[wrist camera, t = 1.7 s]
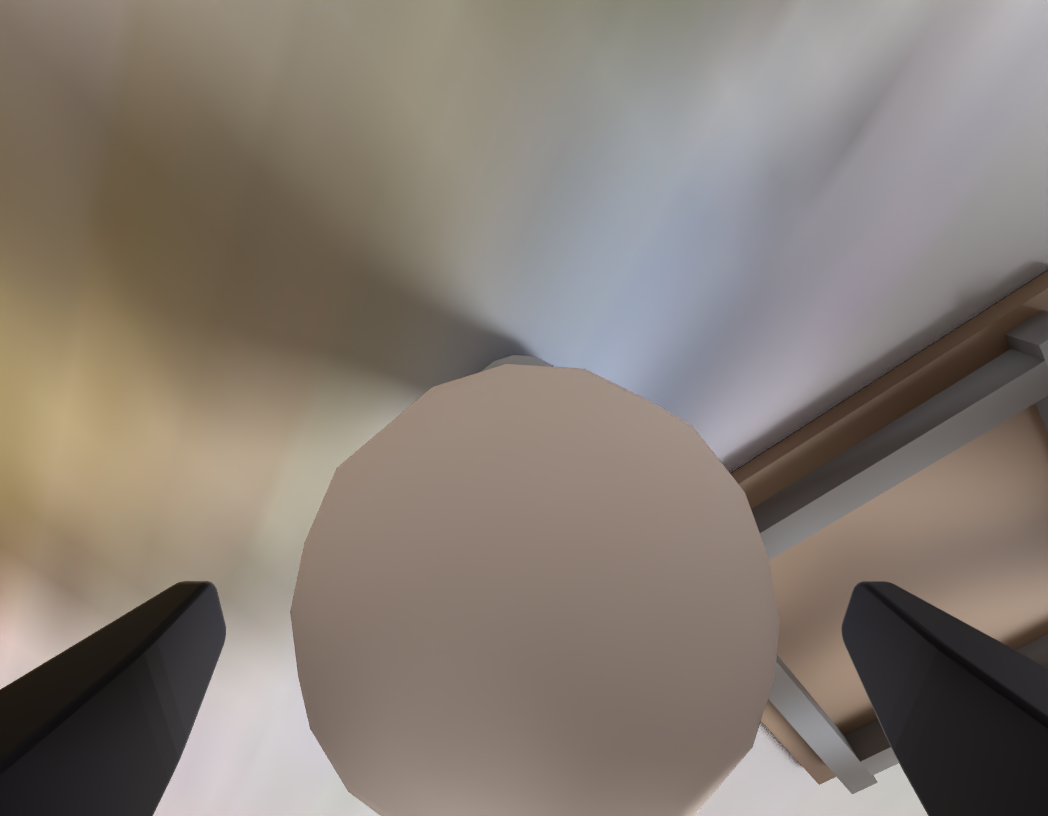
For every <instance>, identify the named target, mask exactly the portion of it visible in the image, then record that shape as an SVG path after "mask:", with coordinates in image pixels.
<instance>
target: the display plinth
mask: <svg viewBox="0 0 1048 816" xmlns="http://www.w3.org/2000/svg"><path fill="white" fill-rule="evenodd" d="M731 475H732V477H733V478H734V479H735V480H736V482H737V483H738V484H739V486H740V487H741V488H742V489H743V491H744V492H745V494H746V497H747V500H748V502H749V505H750V508H751V511H752V513H753V516H754V519H755V522H756V524H757V527H758V530H759V532H760V535H761V538H762V541H763V543H764V546H765V549H766V552H767V554H768V557H769V563H770V569H771V575H772V581H773V587H774V593H775V599H776V605H777V611H778V617H779V632H778V645H777V659H776V672H775V678H774V681H773V685H772V688H771V691H770V694H769V697H768V700H767V703H766V706H765V709H764V713H763V716H762V719H761V721H762V722H763V724H764V725H765V726H766V727H767V728H768V729H769V730H770V731H771V732H772V733H773V735H774V736H775V737H776V738H777V739H778V740H779V741H780V742H781V743H782V744H783V746H784V747H785V748H786V749H787V750H788V751H789V752H790V753H791V754H792V755H793V757H794V758H795V759H796V760H797V761H798V762H799V763H800V764H801V765H802V766H803V767H804V769H805V770H806V771H807V772H808V773H809V774H810V775H811V776H812V777H813V778H814V780H815V781H816V782H817V783H818V784H819V785H820V784H822V783H824V782H826V781H828V780H830V779H832V778H834V777H836V776H837V778H838V779H839V780H840V781H841V782H842V783H843V784H844V785H845V787H846V788H847V789H848V790H849V791H850V792H851V793H852V794H854V793H856V792H858V791H860V790H863V789H865V788H867V787H869V786H871V785H873V784H875V783H878V782H877V781H876V779H875V777H874V776H873V775H874V774H877V773H879V772H881V771H883V770H885V769H887V768H889V767H891V766H893V765H896V764H898V763H899V762H898V760H897V758H896V756H895V754H894V752H893V750H892V748H891V746H890V744H889V742H888V740H887V738H886V736H885V734H884V731H883V729H882V727H881V725H880V723H879V720H878V718H877V716H876V714H875V711H874V709H873V707H872V705H871V702H870V700H869V698H868V696H867V694H866V691H865V689H864V687H863V685H862V682H861V680H860V678H859V676H858V673H857V671H856V669H855V667H854V665H853V662H852V660H851V658H850V656H849V653H848V651H847V649H846V647H845V644H844V642H843V638H842V632H841V629H842V622H843V619H844V616H845V613H846V610H847V607H848V604H849V601H850V598H851V595H852V592H853V589H854V587H855V586H856V585H857V584H858V583H860V582H863V581H885V582H890V583H893V584H895V585H897V586H898V587H900V588H902V589H904V590H906V591H908V592H909V593H911V594H913V595H915V596H917V597H919V598H920V599H922V600H924V601H926V602H928V603H930V604H932V605H933V606H935V607H937V608H939V609H941V610H943V611H944V612H946V613H948V614H950V615H952V616H954V617H955V618H957V619H959V620H961V621H963V622H965V623H966V624H968V625H970V626H972V627H974V628H976V629H977V630H979V631H981V632H983V633H985V634H987V635H988V636H990V637H992V638H994V639H996V640H998V641H999V642H1001V643H1003V644H1005V645H1007V646H1009V647H1011V648H1012V649H1014V650H1016V651H1018V652H1020V653H1022V654H1023V655H1025V656H1027V657H1029V658H1031V659H1033V660H1034V661H1036V662H1038V663H1040V664H1042V665H1044V666H1045V667H1047V668H1048V271H1046V272H1045V273H1043V274H1041V275H1040V276H1038V277H1037V278H1035V279H1034V280H1032V281H1031V282H1029V283H1027V284H1026V285H1024V286H1023V287H1021V288H1020V289H1018V290H1016V291H1015V292H1013V293H1012V294H1010V295H1009V296H1007V297H1006V298H1004V299H1002V300H1001V301H999V302H998V303H996V304H995V305H993V306H992V307H990V308H988V309H987V310H985V311H984V312H982V313H981V314H979V315H977V316H976V317H974V318H973V319H971V320H970V321H968V322H967V323H965V324H963V325H962V326H960V327H959V328H957V329H956V330H954V331H953V332H951V333H949V334H948V335H946V336H945V337H943V338H942V339H940V340H938V341H937V342H935V343H934V344H932V345H931V346H929V347H928V348H926V349H924V350H923V351H921V352H920V353H918V354H917V355H915V356H914V357H912V358H910V359H909V360H907V361H906V362H904V363H903V364H901V365H899V366H898V367H896V368H895V369H893V370H892V371H890V372H889V373H887V374H885V375H884V376H882V377H881V378H879V379H878V380H876V381H875V382H873V383H871V384H870V385H868V386H867V387H865V388H864V389H862V390H860V391H859V392H857V393H856V394H854V395H853V396H851V397H850V398H848V399H846V400H845V401H843V402H842V403H840V404H839V405H837V406H836V407H834V408H832V409H831V410H829V411H828V412H826V413H825V414H823V415H821V416H820V417H818V418H817V419H815V420H814V421H812V422H811V423H809V424H807V425H806V426H804V427H803V428H801V429H800V430H798V431H797V432H795V433H793V434H792V435H790V436H789V437H787V438H786V439H784V440H782V441H781V442H779V443H778V444H776V445H775V446H773V447H772V448H770V449H768V450H767V451H765V452H764V453H762V454H761V455H759V456H758V457H756V458H754V459H753V460H751V461H750V462H748V463H747V464H745V465H743V466H742V467H740V468H739V469H737V470H736V471H734V472H733V473H731Z"/></svg>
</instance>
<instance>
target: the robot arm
mask: <svg viewBox="0 0 1048 816" xmlns="http://www.w3.org/2000/svg"><path fill="white" fill-rule="evenodd" d="M841 632H842V638H843V642H844V644H845V647H846V649H847V651H848V653H849V656H850V658H851V660H852V662H853V665H854V667H855V669H856V671H857V673H858V676H859V678H860V680H861V682H862V685H863V687H864V689H865V691H866V694H867V696H868V698H869V700H870V702H871V705H872V707H873V709H874V711H875V714H876V716H877V718H878V720H879V723H880V725H881V727H882V729H883V731H884V734H885V736H886V738H887V740H888V742H889V744H890V746H891V748H892V750H893V752H894V754H895V756H896V758H897V760H898V762H899V764H900V765H901V767H902V769H903V771H904V773H905V775H906V776H907V778H908V780H909V782H910V784H911V785H912V787H913V789H914V791H915V793H916V794H917V796H918V798H919V800H920V802H921V803H922V805H923V807H924V809H925V810H926V812H927V814H928V816H1048V668H1047V667H1045V666H1044V665H1042V664H1040V663H1038V662H1036V661H1034V660H1033V659H1031V658H1029V657H1027V656H1025V655H1023V654H1022V653H1020V652H1018V651H1016V650H1014V649H1012V648H1011V647H1009V646H1007V645H1005V644H1003V643H1001V642H999V641H998V640H996V639H994V638H992V637H990V636H988V635H987V634H985V633H983V632H981V631H979V630H977V629H976V628H974V627H972V626H970V625H968V624H966V623H965V622H963V621H961V620H959V619H957V618H955V617H954V616H952V615H950V614H948V613H946V612H944V611H943V610H941V609H939V608H937V607H935V606H933V605H932V604H930V603H928V602H926V601H924V600H922V599H920V598H919V597H917V596H915V595H913V594H911V593H909V592H908V591H906V590H904V589H902V588H900V587H898V586H897V585H895V584H893V583H890V582H885V581H863V582H860V583H858V584H857V585H856V586H855V587H854V589H853V592H852V595H851V598H850V601H849V604H848V607H847V610H846V613H845V616H844V619H843V622H842V629H841ZM225 636H226V626H225V621H224V617H223V613H222V609H221V605H220V601H219V596H218V592H217V589H216V587H215V585H214V584H213V583H211V582H209V581H183V582H179V583H177V584H175V585H173V586H171V587H170V588H168V589H166V590H165V591H163V592H161V593H160V594H158V595H156V596H155V597H153V598H151V599H150V600H148V601H146V602H145V603H143V604H141V605H140V606H138V607H136V608H135V609H133V610H132V611H130V612H128V613H127V614H125V615H123V616H122V617H120V618H118V619H117V620H115V621H113V622H112V623H110V624H108V625H107V626H105V627H103V628H102V629H100V630H98V631H97V632H95V633H93V634H92V635H90V636H88V637H87V638H85V639H83V640H82V641H80V642H78V643H77V644H75V645H74V646H72V647H70V648H69V649H67V650H65V651H64V652H62V653H60V654H59V655H57V656H55V657H54V658H52V659H50V660H49V661H47V662H45V663H44V664H42V665H40V666H39V667H37V668H35V669H34V670H32V671H30V672H29V673H27V674H25V675H24V676H22V677H20V678H19V679H17V680H15V681H14V682H12V683H11V684H9V685H7V686H6V687H4V688H2V689H1V690H0V816H153V814H154V812H155V810H156V808H157V806H158V804H159V802H160V800H161V798H162V796H163V794H164V792H165V790H166V788H167V786H168V783H169V781H170V779H171V777H172V775H173V773H174V771H175V769H176V766H177V764H178V762H179V760H180V758H181V755H182V753H183V750H184V748H185V745H186V743H187V740H188V738H189V735H190V733H191V730H192V727H193V725H194V722H195V719H196V717H197V714H198V712H199V709H200V706H201V704H202V701H203V698H204V696H205V693H206V690H207V688H208V685H209V682H210V680H211V677H212V675H213V672H214V669H215V667H216V664H217V661H218V659H219V656H220V653H221V651H222V648H223V645H224V642H225Z"/></svg>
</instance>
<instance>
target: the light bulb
mask: <svg viewBox="0 0 1048 816" xmlns="http://www.w3.org/2000/svg"><path fill="white" fill-rule="evenodd" d="M290 613H291V621H292V629H293V637H294V646H295V654H296V662H297V670H298V677H299V682H300V686H301V691H302V695H303V699H304V704H305V708H306V713H307V717H308V721H309V726H310V729H311V731H312V732H313V734H314V736H315V737H316V739H317V741H318V742H319V744H320V746H321V747H322V749H323V751H324V752H325V754H326V756H327V757H328V759H329V760H330V762H331V764H332V765H333V767H334V769H335V770H336V772H337V774H338V775H339V777H340V779H341V780H342V782H343V784H344V785H345V787H346V789H347V790H348V792H349V793H351V794H352V795H353V796H355V797H356V798H358V799H359V800H360V801H362V802H363V803H364V804H366V805H367V806H368V807H370V808H371V809H372V810H374V811H375V812H376V813H378V814H379V815H381V816H695V815H696V813H697V812H698V811H699V810H700V809H701V808H702V806H703V805H704V804H705V803H706V802H707V800H708V799H709V798H710V797H711V796H712V794H713V793H714V792H715V791H716V790H717V789H718V787H719V786H720V785H721V784H722V783H723V781H724V780H725V779H726V778H727V777H728V775H729V774H730V773H731V772H732V771H733V770H734V768H735V767H736V766H737V765H738V764H739V762H740V761H741V760H742V759H743V758H744V756H745V755H746V754H747V753H748V752H749V751H750V749H751V748H752V747H753V744H754V740H755V737H756V734H757V731H758V728H759V725H760V722H761V719H762V716H763V713H764V709H765V706H766V703H767V700H768V697H769V694H770V691H771V688H772V685H773V681H774V678H775V672H776V659H777V645H778V632H779V617H778V611H777V605H776V599H775V593H774V587H773V581H772V575H771V569H770V563H769V557H768V554H767V552H766V549H765V546H764V543H763V541H762V538H761V535H760V532H759V530H758V527H757V524H756V522H755V519H754V516H753V513H752V511H751V508H750V505H749V502H748V500H747V497H746V494H745V492H744V491H743V489H742V488H741V487H740V486H739V484H738V483H737V482H736V480H735V479H734V478H733V477H732V475H731V474H730V473H729V472H728V470H727V469H726V468H725V467H724V465H723V464H722V463H721V461H720V460H719V459H718V458H717V456H716V455H715V454H714V453H713V451H712V450H711V449H710V448H709V446H708V445H707V444H706V442H705V441H704V440H703V439H702V437H701V436H700V435H699V434H698V432H697V431H696V430H695V429H694V427H693V426H691V425H690V424H688V423H686V422H685V421H683V420H681V419H680V418H678V417H676V416H675V415H673V414H671V413H670V412H668V411H666V410H665V409H663V408H661V407H660V406H658V405H656V404H655V403H653V402H651V401H649V400H647V399H645V398H643V397H641V396H639V395H637V394H635V393H632V392H630V391H628V390H626V389H624V388H622V387H620V386H618V385H616V384H614V383H612V382H610V381H608V380H606V379H604V378H602V377H600V376H598V375H596V374H594V373H592V372H590V371H588V370H586V369H578V368H562V367H554V366H553V365H551V364H549V363H547V362H545V361H543V360H541V359H538V358H536V357H534V356H521V355H512V356H508V357H505V358H502V359H499V360H496V361H493V362H492V363H491V364H489V365H488V366H487V367H486V368H485V369H483V370H482V371H481V372H479V373H476V374H472V375H469V376H466V377H463V378H459V379H456V380H453V381H450V382H447V383H443V384H440V385H437V386H434V387H432V388H430V389H429V390H428V391H427V392H426V393H425V394H423V395H422V396H421V397H420V398H419V399H418V400H416V401H415V402H414V403H413V404H412V405H411V406H409V407H408V408H407V409H406V410H405V411H403V412H402V413H401V414H400V415H399V416H398V417H396V418H395V419H394V420H393V421H392V422H391V423H389V424H388V425H387V426H386V427H385V428H384V429H382V430H381V431H380V432H379V433H378V434H376V435H375V436H374V437H373V438H372V439H371V440H369V441H368V442H367V443H366V444H365V445H363V446H362V447H361V448H360V449H359V450H358V451H356V452H355V453H354V454H353V455H352V456H350V457H349V458H348V459H347V460H346V461H345V462H343V463H342V464H341V465H340V466H339V467H337V469H336V471H335V473H334V476H333V478H332V480H331V483H330V485H329V487H328V490H327V492H326V494H325V497H324V499H323V501H322V504H321V506H320V508H319V511H318V513H317V515H316V518H315V520H314V522H313V524H312V527H311V529H310V531H309V534H308V536H307V538H306V541H305V543H304V548H303V553H302V558H301V562H300V567H299V572H298V577H297V582H296V587H295V592H294V596H293V601H292V606H291V611H290Z"/></svg>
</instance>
